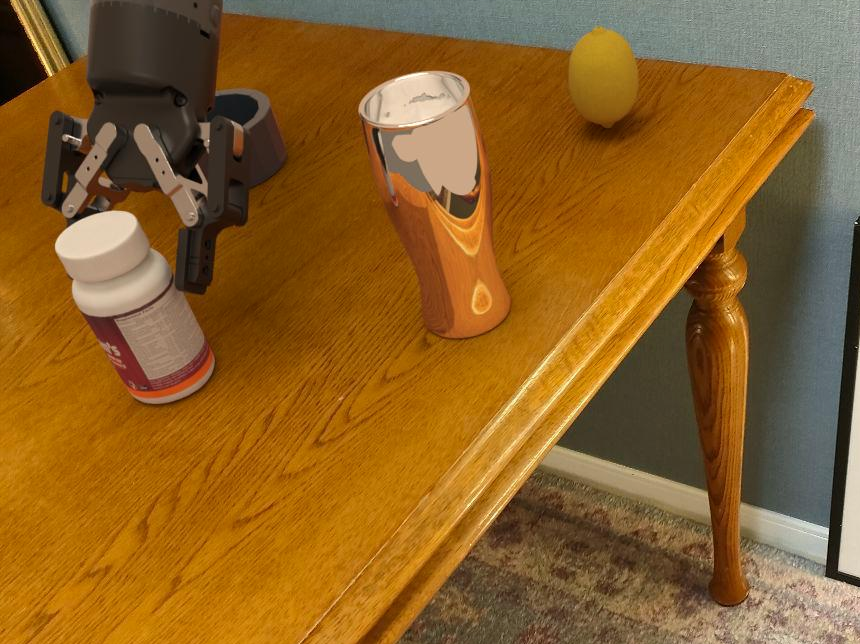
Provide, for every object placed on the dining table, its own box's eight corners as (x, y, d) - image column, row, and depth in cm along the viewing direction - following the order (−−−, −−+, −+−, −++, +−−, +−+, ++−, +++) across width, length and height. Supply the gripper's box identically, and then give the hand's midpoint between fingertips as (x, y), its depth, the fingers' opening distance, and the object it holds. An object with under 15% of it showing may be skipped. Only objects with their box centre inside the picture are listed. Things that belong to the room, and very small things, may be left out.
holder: (153, 188, 87) (129, 139, 84) (227, 131, 92) (208, 83, 89) (236, 205, 83) (215, 154, 80) (310, 144, 88) (293, 94, 85)
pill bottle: (118, 378, 70) (31, 236, 61) (197, 337, 71) (124, 193, 63) (149, 421, 66) (62, 276, 57) (232, 376, 68) (159, 229, 59)
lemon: (567, 144, 81) (553, 44, 75) (585, 110, 85) (573, 12, 79) (633, 145, 80) (624, 43, 74) (649, 110, 83) (642, 10, 77)
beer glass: (493, 349, 65) (442, 131, 54) (400, 337, 68) (332, 125, 56) (532, 286, 69) (492, 70, 58) (443, 276, 72) (388, 67, 60)
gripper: (19, -3, 61) (2, 269, 63) (212, -7, 56) (187, 286, 58) (111, 45, 68) (93, 288, 70) (289, 45, 63) (265, 305, 65)
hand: (136, 287), depth 64 cm, fingers open, 8 cm apart
